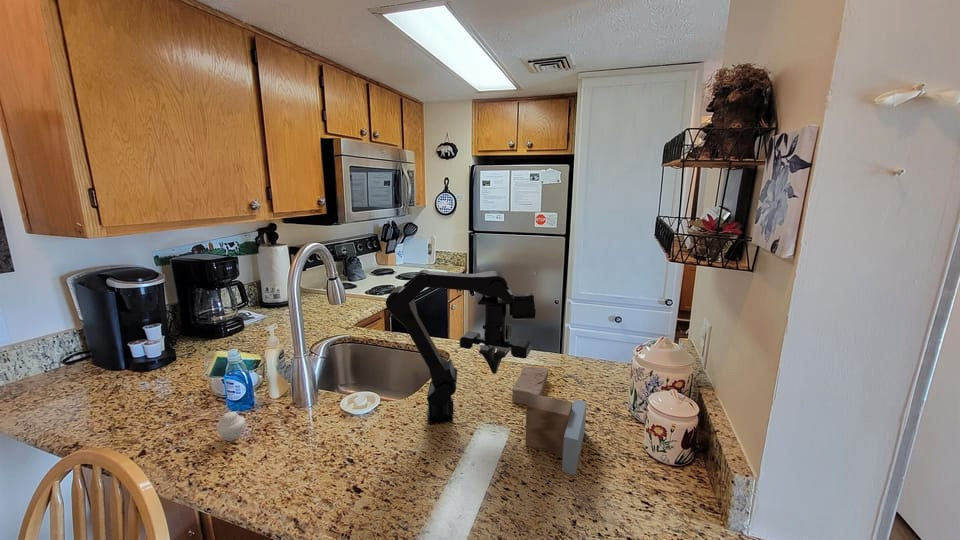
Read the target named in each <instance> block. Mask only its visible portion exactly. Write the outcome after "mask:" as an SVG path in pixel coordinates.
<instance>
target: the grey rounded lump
mask: <svg viewBox="0 0 960 540" xmlns="http://www.w3.org/2000/svg"><path fill="white" fill-rule="evenodd" d="M245 425H246V419H245V417H243V416H241V415H239V414H238V413H237V412H236V411H229V412H227V413H225V414H224V415H222V417H221V419H220V422H219V423H218V424H217V426H216V432H217V433H218V435H219V436H220V437H222V438H223V439H224V440H225V441H226V442H231V441H235V440H237V439H239V438H240V437H241V434H242V433H243V431H244V428H245Z"/></svg>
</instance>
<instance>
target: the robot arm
mask: <svg viewBox="0 0 960 540" xmlns="http://www.w3.org/2000/svg"><path fill="white" fill-rule="evenodd" d="M426 288H429V289H442V290H443V289H444V290H456V291H458V290H459V291H470V292H475V293H477V294H479V295H481V296H479V297H478V298H477V300H476V302H477V305H478V306H481V305H483V306H484V308H483V309H484V311H483V312H484V315H483V316H484V318H483V319H484V320H483V321H484V323H483V325H482V330H484V331H483V332H484V338H483V337H481V333H479V332H476V331H467V332H466V333H465V334H463V335H462V336H461V337H460V338H459V347H460V348H462V349H465V350H470V349H471V348H472V347H473V345H478V346H479V348H480V349H479V351H478V353H479V354H480V355H482V357H483V358H484V360H485V361H486V363H487V365H488V367H489V370H490V371H491V372H492V374H493V375H496V374H497V372H498V371H499V367H500V365H501V362H502V360H503V358H505V357H506V356H507V355H508V354H509V353H510V355H512V357H513V358H518V359H524V360H525V359H527V357H529V354H530V352H531V351H532V343H531V341H530V340H528V339H520V338H517V339H515V340H514V342H511V341H507V340H509V339H510V337H512V331H513V325H512V324H508V320H507V313H508V317H510V316H511V319H512V320H517V321H518V320H525V321H526V320H535V319H536V311H537V310H536V306H535V304H536V303H535V295H534V294H533V293H529V292H528V293H519V294H517V293H516V294H515V293H513V292H512V289H511V288H510V287H508V282H507V280H506V277H505V275H504V274H503V273H502V272H500V271H499V270H490V271H489V270H488V271H481V272H478V273H477V272H476V273H465V272H464V273H463V272H462V273H459V272H450V271H449V272H447V271H436V270H435V271H434V270H428V269H421V270H419V272H417V274H416V275H414V276H413V277H411V279H409V280H408V281H407V282H406V283H404V285H398V286H395V287H394V288H393V289H392V291H391V292H390V293H389V294H388V296H387V297H386V300H385V306H386V309H387V310H388V312H389V313H390V314H391V315H392V316H393V317H394V319H396V320H397V321H398V322H399V323H401V324H402V325H403V326H404V328H405V330H406V331H407V333H408V334H409V337H410V338H411V341H412V342H413V343H414V345H415V347H416V348H417V350H418V352H419V354H420V356H421V357H422V360H423V361H424V362H425V365H426V366H427V369H429V374H430V379H431V380H430V383H429V386H428V391H427V396H426V400H427V409H426V413H427V417H428V423H429V425H434V424H440V423H446V422H447V423H449V422H453V420H454V418H453V416H454V413H455V412H454V410H455V409H454V400H453V395H454V394H455V393H456V390H457V385H458V384H457V382H458V369H457V368H456V367H455V366H454V362H453V361H452V359H449V360H446V359H444V358H443V357H442V355H441V354H440V352H439V350H438V348H437V346H436V345H435V343H434V342H433V339H432V338H431V335H430V334H429V332H428V331H427V329H426V326H425V325H424V323H423V322H422V320H421V318H420V316H419V315H418V314H419V313H418V310H417V306H416V302H415V298H416V297H417V296H418V295H420V294H421V293H422V292H423V291H424V290H425V289H426Z"/></svg>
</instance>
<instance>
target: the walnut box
mask: <svg viewBox="0 0 960 540" xmlns="http://www.w3.org/2000/svg"><path fill="white" fill-rule="evenodd" d="M572 407H573V401H569V400H564V399H560V398H555V397H550V396H546V395H542V396H541V395H536V394H532V396H531V398H530V400H529V402H528V404H527V405H526V414H525V416H526V417H525V445H524V446H526V447H530V448H532V449H537V450H540V449H541V451H544V450H545V451H546V452H548V453H552V454H555V453H556V455H560V456H563V444H564V435H565V431H566V428H567V424H568V421H569V417H570V414H571V411H572Z"/></svg>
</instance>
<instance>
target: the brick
mask: <svg viewBox="0 0 960 540" xmlns="http://www.w3.org/2000/svg"><path fill="white" fill-rule="evenodd" d="M548 375H549V369H547V368H545V367H539V366H538V367H537V366H526V365H524V366H523V367H522V368H521V372H520V374H519V376H518V377H517V379H516V381H515V383H514V385H513V388H512V395H511V400H512V401H511V402H513V403H516V404H521V405H525V404H526V406H527V404H528V402H529V400H530V398H531V396H532V394H536V395H541V396H543V393H544V390H545V388H546V385H547V382H548V377H549V376H548Z"/></svg>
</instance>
